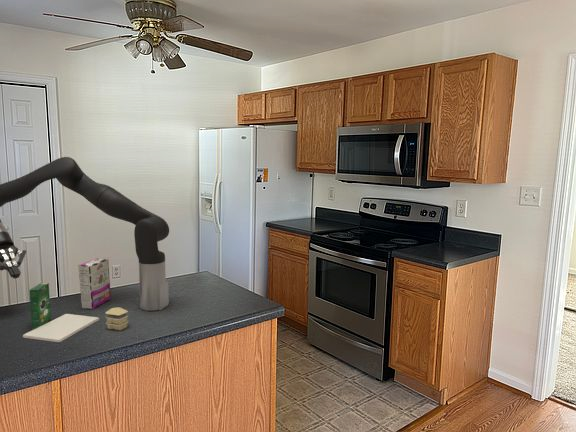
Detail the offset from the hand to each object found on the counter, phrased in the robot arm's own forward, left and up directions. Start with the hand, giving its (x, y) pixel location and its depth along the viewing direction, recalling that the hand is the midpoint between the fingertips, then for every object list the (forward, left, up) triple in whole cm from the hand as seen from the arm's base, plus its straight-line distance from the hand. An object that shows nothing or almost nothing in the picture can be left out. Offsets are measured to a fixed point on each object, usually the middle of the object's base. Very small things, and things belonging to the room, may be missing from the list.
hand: (16, 276), depth 144 cm
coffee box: (-13, +4, -14) cm, 19 cm away
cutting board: (-22, +5, -14) cm, 26 cm away
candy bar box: (-17, -17, -14) cm, 28 cm away
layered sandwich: (-37, -1, -14) cm, 40 cm away
